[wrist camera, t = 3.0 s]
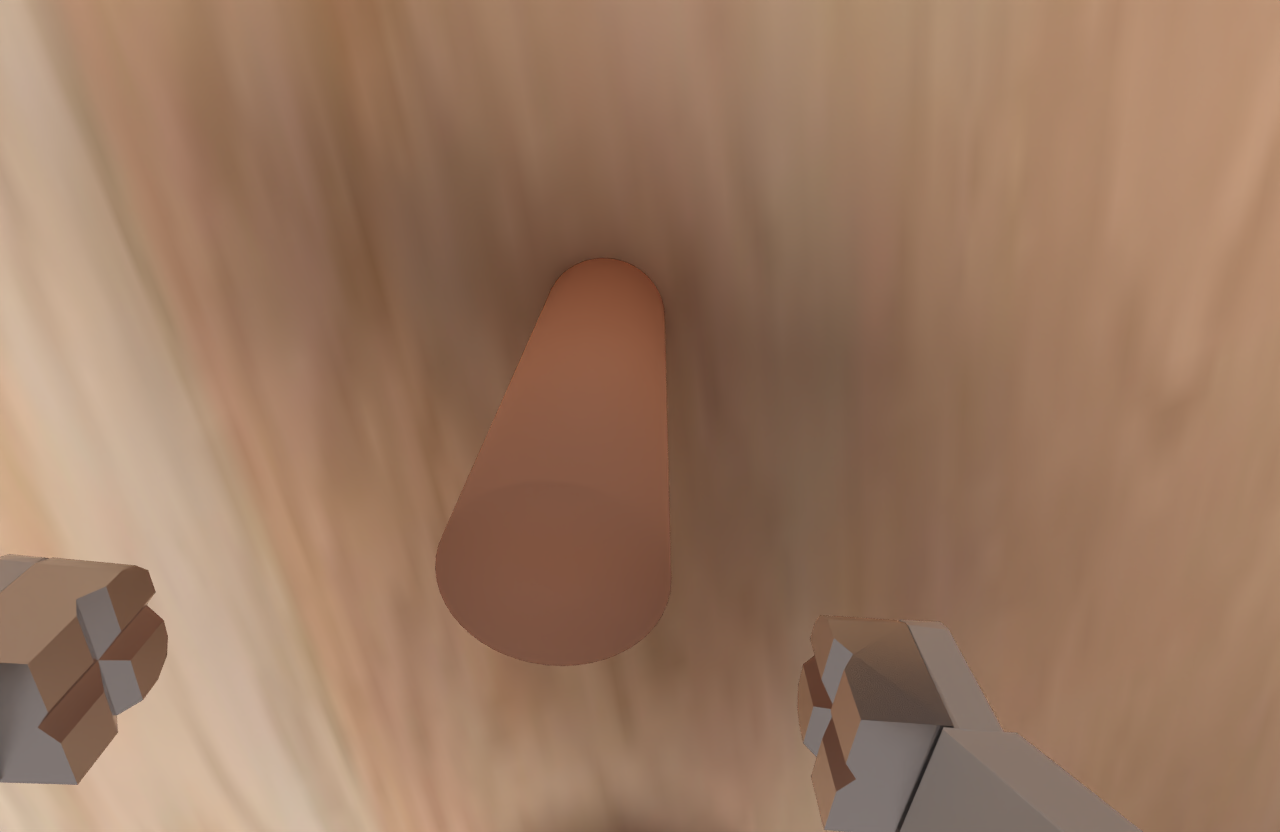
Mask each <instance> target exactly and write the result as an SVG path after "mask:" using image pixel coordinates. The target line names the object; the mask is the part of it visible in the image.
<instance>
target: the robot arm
mask: <svg viewBox="0 0 1280 832" xmlns="http://www.w3.org/2000/svg"><path fill="white" fill-rule="evenodd" d="M155 592H156V591H155V589H154V586H153V583H152V580H151V577H150V574H149V571H148V570H146V569H143V568H141V567H138V566H136V565H126V564H115V563H105V562H95V561H84V560H74V559H63V558H42V557H33V556H23V555H13V554H8V555H5V556H1V557H0V782H7V783H39V784H70V785H78V784H79V782H80V781H81V780H82V778H83V777H84V776H85V775H86V773H87V772H88V771H89V769H90V768H91V767H92V765H93V764H94V763H95V762H96V760H97V759H98V758H99V756H100V755H101V754H102V753H103V751H104V750H105V749H106V747H107V746H108V745H109V743H110V742H111V741H112V740H113V738H114V737H115V736H116V734H117V733H118V725H117V715H118V714H120V713H122V712H123V711H125V710H127V709H128V708H130V707H132V706H134V705H135V704H137V703H139V702H140V701H142V700H143V699H144V698H145V696H146V695H147V694H148V692H149V691H150V690H151V688H152V687H153V686H154V684H155V683H156V681H157V680H158V678H159V675H160V673H161V670H162V667H163V665H164V662H165V659H166V657H167V644H168V635H167V631H166V627H165V623H164V620H163V619H162V618H160V617H159V616H158V615H157V614H156V613H155V612H154V611H153V610H152V609H150V608H149V607H148V606H147V604H148V602H149V601H150V599H151V598H152V597H153V595H154V594H155ZM810 640H811V644H812V647H813V651H814V654H815V656H814V657H812V658H811V659H810V660H809V661H807V662H806V663H805V664H803V667H802V671H801V676H800V680H799V684H798V704H797V708H798V718H799V726H800V730H801V735H802V740H803V743H804V744H805V745H806V746H807V747H808V748H809V750H810V751H811V752H812V753H813V754H814V755H815V756H816V757H817V758H816V761H815V765H814V768H813V771H812V775H811V778H812V783H813V787H814V791H815V795H816V799H817V803H818V807H819V811H820V816H821V820H822V824H823V828H824V830H833V831H844V832H1143V831H1141V830H1140V829H1139V828H1138V827H1136V826H1135V825H1134V824H1132V823H1131V822H1130V821H1129V820H1127V819H1126V818H1125V817H1124V816H1122V815H1121V814H1120V813H1118V812H1117V811H1116V810H1115V809H1113V808H1112V807H1111V806H1110V805H1108V804H1107V803H1106V802H1104V801H1103V800H1102V799H1101V798H1099V797H1098V796H1097V795H1095V794H1094V793H1093V792H1092V791H1090V790H1089V789H1088V788H1087V787H1085V786H1084V785H1083V784H1081V783H1080V782H1079V781H1078V780H1076V779H1075V778H1074V777H1073V776H1071V775H1070V774H1069V773H1067V772H1066V771H1065V770H1064V769H1062V768H1061V767H1060V766H1058V765H1057V764H1056V763H1055V762H1053V761H1052V760H1051V759H1050V758H1048V757H1047V756H1046V755H1044V754H1043V753H1042V752H1041V751H1039V750H1038V749H1037V748H1036V747H1034V746H1033V745H1032V744H1030V743H1029V742H1028V741H1027V740H1025V739H1024V738H1023V737H1021V736H1020V735H1019V734H1018V733H1013V732H1004V731H1003V729H1002V727H1001V725H1000V723H999V722H998V720H997V718H996V716H995V714H994V712H993V710H992V709H991V707H990V705H989V703H988V701H987V699H986V698H985V696H984V694H983V692H982V690H981V688H980V686H979V685H978V683H977V681H976V679H975V677H974V675H973V674H972V672H971V670H970V668H969V666H968V664H967V662H966V661H965V659H964V657H963V655H962V653H961V651H960V650H959V648H958V646H957V644H956V642H955V640H954V638H953V637H952V635H951V633H950V631H949V629H948V628H947V627H946V626H945V625H944V624H942V623H941V622H937V621H918V620H899V621H897V620H890V619H875V618H859V617H844V616H829V615H820V616H819V617H818V619H817V620H816V622H815V623H814V627H813V630H812V634H811V637H810Z"/></svg>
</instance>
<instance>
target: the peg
mask: <svg viewBox="0 0 1280 832" xmlns="http://www.w3.org/2000/svg"><path fill="white" fill-rule="evenodd" d="M435 570H436V578H437V583H438V587H439V590H440V593H441V596H442V598H443V600H444V602H445V604H446V606H447V607H448V609H449V611H450V612H451V614H452V615H453V616H454V618H455V619H456V620H457V621H458V622H459V624H460V625H461V626H462V627H463V628H465V629H466V630H467V631H468V632H469V633H470V634H471V635H472V636H474V637H475V638H476V639H478V640H479V641H480V642H482V643H484V644H485V645H487V646H489V647H490V648H492V649H494V650H496V651H498V652H501V653H503V654H505V655H507V656H510V657H513V658H516V659H519V660H523V661H527V662H531V663H536V664H543V665H556V666H569V665H581V664H587V663H593V662H596V661H600V660H604V659H607V658H610V657H612V656H615V655H617V654H619V653H621V652H623V651H625V650H627V649H629V648H630V647H632V646H633V645H635V644H636V643H638V642H639V641H640V640H642V639H643V638H644V637H645V636H646V635H647V634H648V633H649V632H650V631H651V630H652V629H653V628H654V626H655V625H656V624H657V622H658V621H659V619H660V618H661V616H662V615H663V612H664V610H665V608H666V606H667V603H668V599H669V595H670V591H671V545H670V506H669V467H668V428H667V389H666V350H665V315H664V306H663V302H662V299H661V296H660V293H659V292H658V290H657V288H656V286H655V285H654V283H653V282H652V281H651V280H650V279H649V277H648V276H647V275H646V274H644V273H643V272H642V271H641V270H639V269H638V268H636V267H635V266H633V265H631V264H629V263H626V262H623V261H620V260H616V259H610V258H597V259H591V260H586V261H584V262H581V263H578V264H576V265H574V266H573V267H571V268H570V269H568V270H567V271H565V272H564V273H563V274H562V275H561V276H560V277H559V278H558V280H557V281H556V282H555V284H554V285H553V287H552V289H551V291H550V293H549V296H548V298H547V300H546V302H545V305H544V307H543V309H542V311H541V314H540V316H539V318H538V320H537V323H536V325H535V327H534V329H533V332H532V334H531V336H530V338H529V341H528V343H527V345H526V348H525V350H524V352H523V354H522V357H521V359H520V361H519V363H518V366H517V368H516V370H515V372H514V375H513V377H512V379H511V381H510V384H509V386H508V388H507V390H506V393H505V395H504V397H503V399H502V402H501V404H500V406H499V409H498V411H497V413H496V415H495V418H494V420H493V422H492V424H491V427H490V429H489V431H488V433H487V436H486V438H485V440H484V442H483V445H482V447H481V449H480V451H479V454H478V456H477V458H476V460H475V463H474V465H473V467H472V470H471V472H470V474H469V476H468V479H467V481H466V483H465V485H464V488H463V490H462V492H461V494H460V497H459V499H458V501H457V503H456V506H455V508H454V510H453V512H452V515H451V517H450V519H449V521H448V524H447V526H446V528H445V531H444V533H443V535H442V538H441V540H440V542H439V545H438V550H437V554H436V566H435Z"/></svg>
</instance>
